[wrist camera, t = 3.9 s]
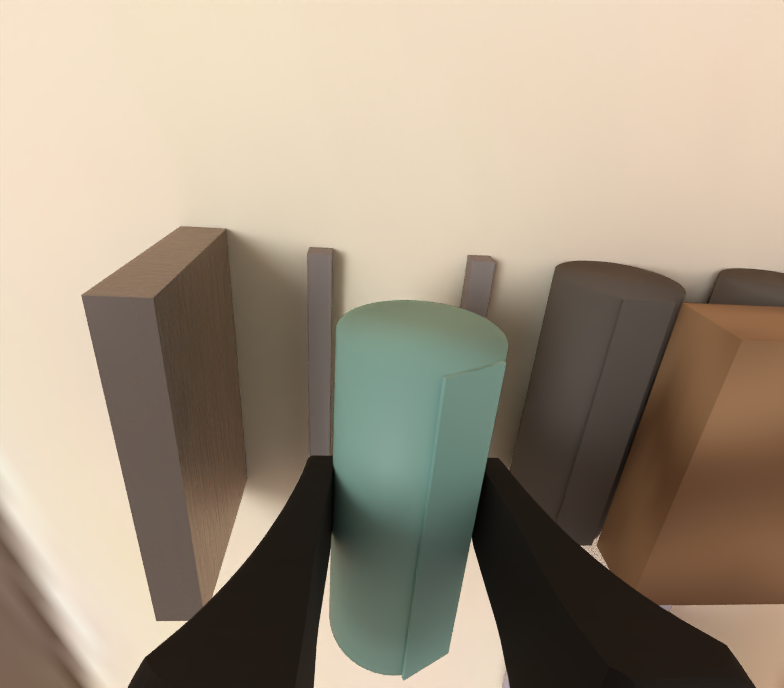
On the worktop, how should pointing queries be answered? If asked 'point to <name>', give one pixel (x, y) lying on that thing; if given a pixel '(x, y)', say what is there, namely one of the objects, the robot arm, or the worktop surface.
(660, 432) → the slab
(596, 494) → the roller bed
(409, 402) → the roller
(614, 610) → the robot arm
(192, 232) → the bar
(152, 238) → the worktop surface
